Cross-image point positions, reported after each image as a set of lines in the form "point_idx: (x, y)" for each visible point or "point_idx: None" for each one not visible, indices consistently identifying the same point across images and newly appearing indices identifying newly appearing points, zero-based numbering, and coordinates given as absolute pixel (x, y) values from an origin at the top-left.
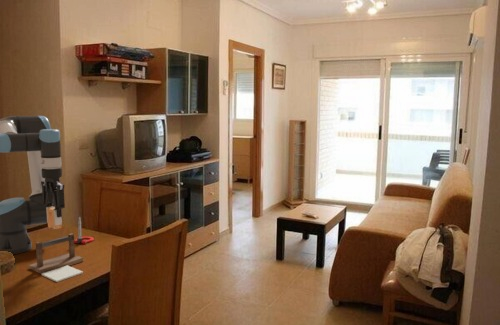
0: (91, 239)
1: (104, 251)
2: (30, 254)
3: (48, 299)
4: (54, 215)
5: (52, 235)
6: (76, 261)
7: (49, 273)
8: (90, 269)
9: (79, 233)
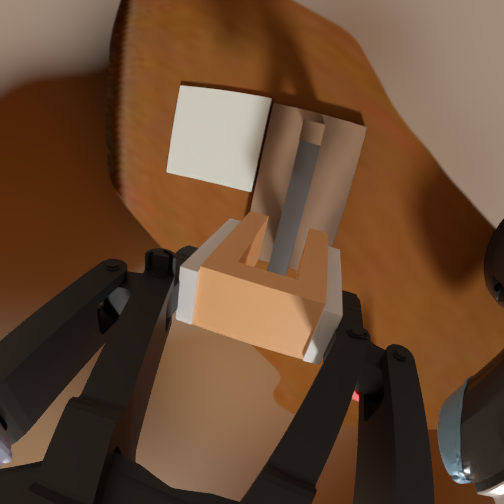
0: None
1: None
2: (459, 240)
3: (126, 21)
4: (214, 247)
5: None
6: None
7: (247, 111)
8: (172, 203)
9: None
